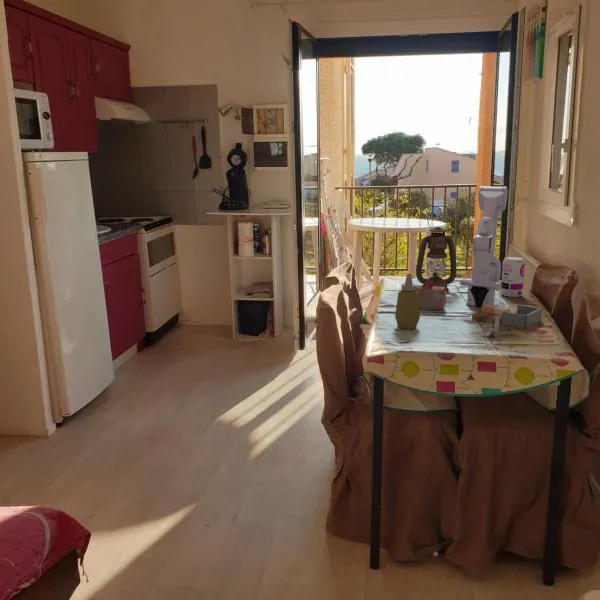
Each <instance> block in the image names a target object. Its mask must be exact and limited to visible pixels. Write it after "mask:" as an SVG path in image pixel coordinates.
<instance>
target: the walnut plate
mask: <svg viewBox="0 0 600 600" xmlns="http://www.w3.org/2000/svg"><path fill="white" fill-rule="evenodd" d="M515 312H517V309H510V313H515ZM496 317H497V318H499V319H500V322H499V326H502V325H501V320H502V315H498V314H494V313H493V314H492V313H486V312H482V309H481V310H479V311H477V312H475V313H472V314H471V321H474V320H476V322H480V321H482V322H481V323H485V322H487V323H492V324H491V325H495V318H496Z"/></svg>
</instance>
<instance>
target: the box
mask: <svg viewBox="0 0 600 600" xmlns="http://www.w3.org/2000/svg"><path fill="white" fill-rule="evenodd" d="M516 307H517V308H516V311H517V312H515V313H509V312H502V320H501V325H500V326H506V327H511V328H516V329H522V330H527V329H529V328H531V327H533V326H535V325H537V324H538V323H540V322H541V321H542V314H543V308H542V307H536V306H531V305H530V306H529V305H524V304H517V305H516ZM534 324H535V325H534ZM532 325H533V326H532Z"/></svg>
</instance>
